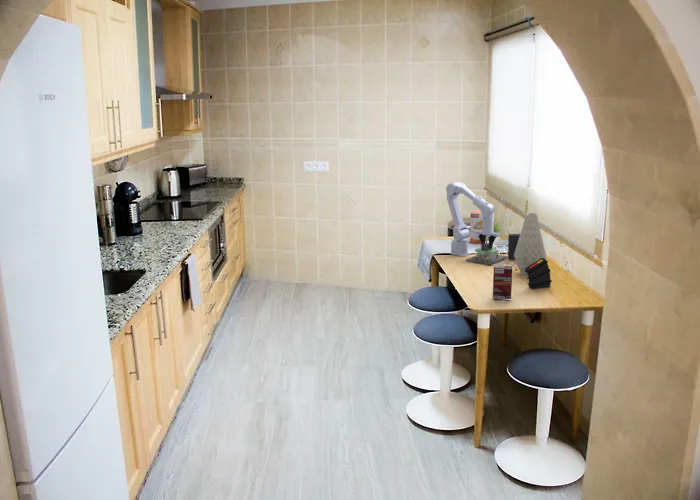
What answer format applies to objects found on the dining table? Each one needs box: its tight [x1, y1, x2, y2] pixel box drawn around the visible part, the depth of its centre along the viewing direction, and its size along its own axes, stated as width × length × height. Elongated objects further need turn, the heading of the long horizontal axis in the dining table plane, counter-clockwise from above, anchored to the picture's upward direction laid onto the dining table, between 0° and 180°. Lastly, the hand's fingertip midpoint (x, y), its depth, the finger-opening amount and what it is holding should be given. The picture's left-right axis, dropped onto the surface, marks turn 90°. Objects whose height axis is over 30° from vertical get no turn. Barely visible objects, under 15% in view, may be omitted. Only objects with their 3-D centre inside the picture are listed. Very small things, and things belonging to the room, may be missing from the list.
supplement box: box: [492, 265, 513, 300], centre depth 296 cm, size 9×5×16 cm, turn 80°
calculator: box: [507, 233, 520, 261], centre depth 359 cm, size 11×4×15 cm, turn 84°
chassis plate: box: [465, 252, 508, 267], centre depth 362 cm, size 16×20×4 cm
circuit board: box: [474, 242, 500, 255], centre depth 360 cm, size 12×15×5 cm
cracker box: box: [469, 209, 495, 245], centre depth 396 cm, size 14×6×21 cm, turn 62°
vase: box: [514, 212, 547, 277], centre depth 330 cm, size 17×17×33 cm
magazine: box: [525, 258, 552, 290], centre depth 310 cm, size 4×13×15 cm, turn 105°
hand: (487, 247), depth 360 cm, fingers closed on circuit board, 4 cm apart
